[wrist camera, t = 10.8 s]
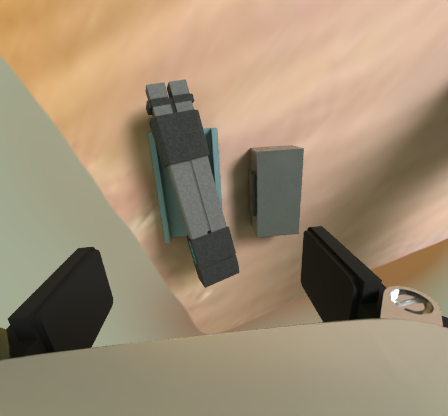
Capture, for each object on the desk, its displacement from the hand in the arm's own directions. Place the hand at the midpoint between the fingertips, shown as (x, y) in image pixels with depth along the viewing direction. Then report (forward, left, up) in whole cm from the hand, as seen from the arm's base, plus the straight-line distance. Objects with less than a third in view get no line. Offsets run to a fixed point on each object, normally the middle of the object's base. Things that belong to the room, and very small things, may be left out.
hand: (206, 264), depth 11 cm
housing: (-8, +2, -19) cm, 21 cm away
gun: (+2, +1, -18) cm, 18 cm away
